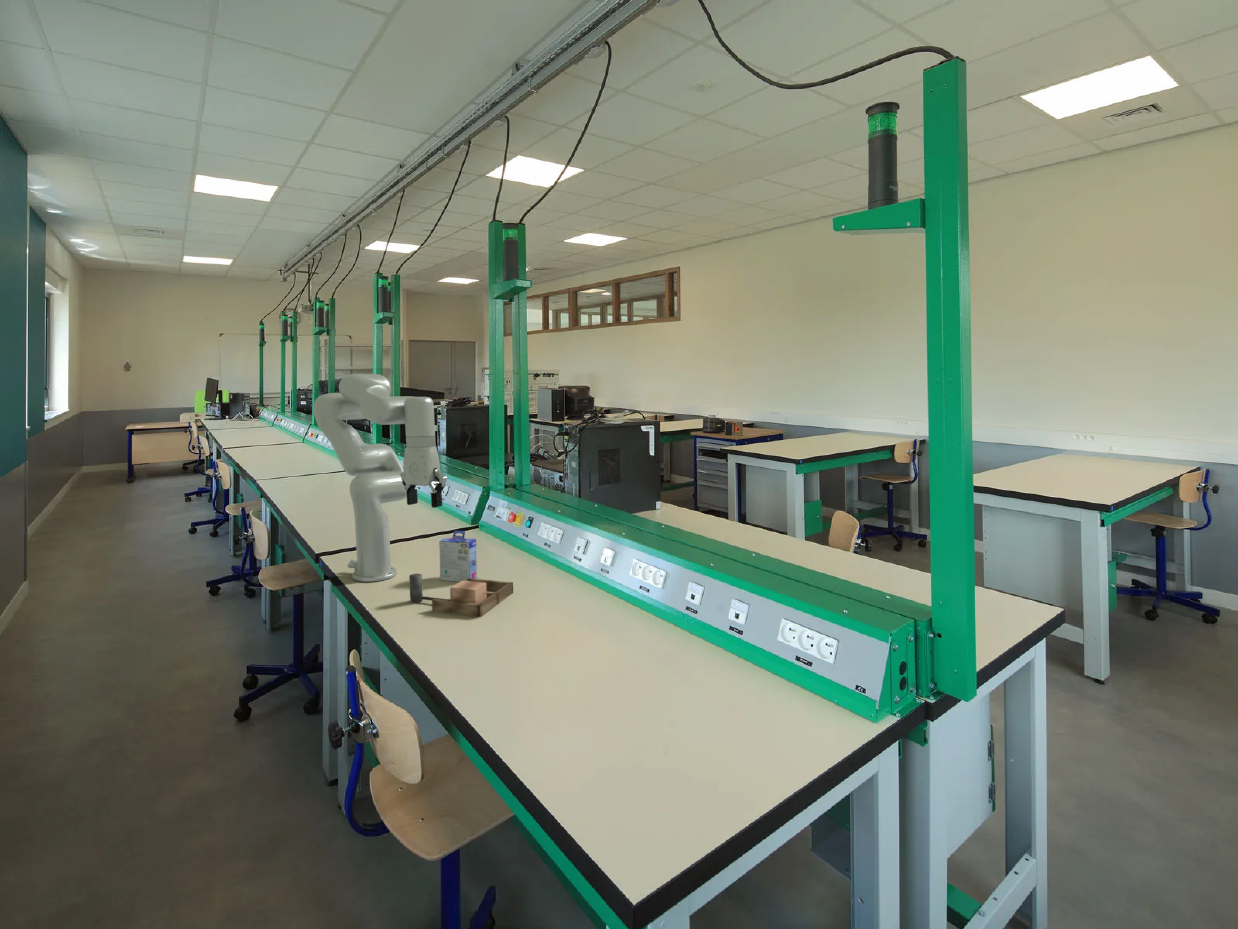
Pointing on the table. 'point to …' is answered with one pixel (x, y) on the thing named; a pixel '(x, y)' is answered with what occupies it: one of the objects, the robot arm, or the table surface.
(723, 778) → the table surface
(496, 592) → the tray
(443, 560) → the ink cartridge box
